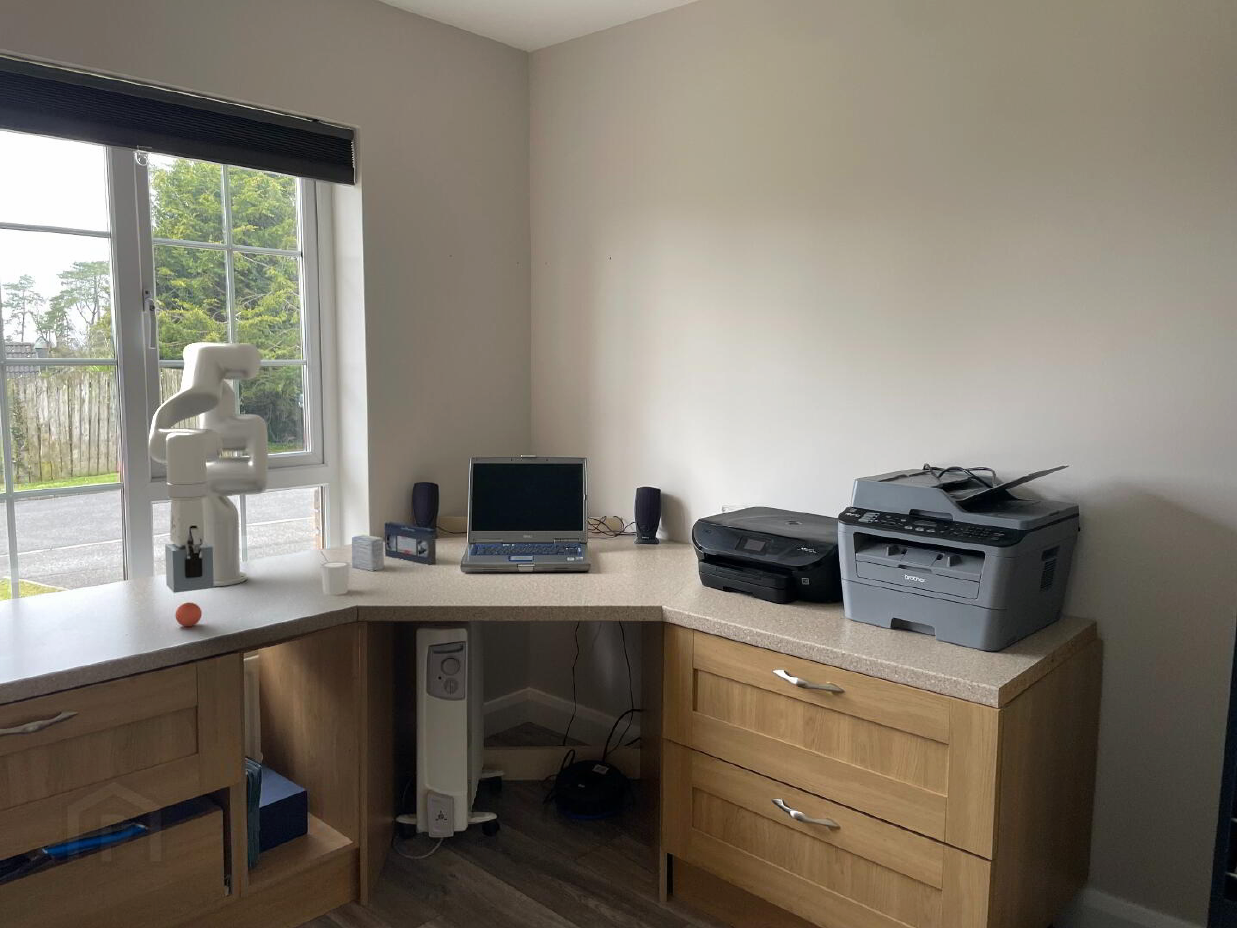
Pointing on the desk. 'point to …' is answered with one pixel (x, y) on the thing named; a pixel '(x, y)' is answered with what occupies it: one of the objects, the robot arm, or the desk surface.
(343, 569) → the white tapered cup
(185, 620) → the ball
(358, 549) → the light grey block
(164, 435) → the robot arm
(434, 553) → the vhs cassette tape
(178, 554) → the blue-grey block
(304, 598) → the desk surface
